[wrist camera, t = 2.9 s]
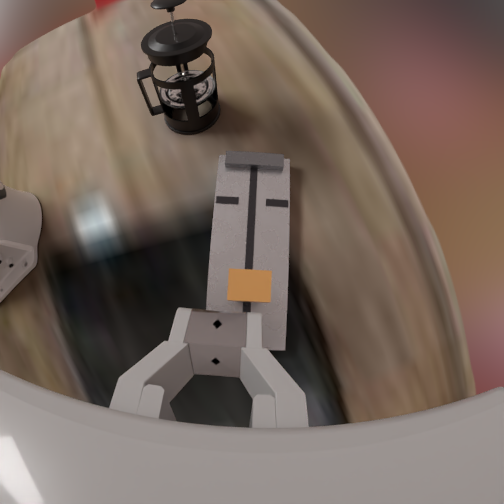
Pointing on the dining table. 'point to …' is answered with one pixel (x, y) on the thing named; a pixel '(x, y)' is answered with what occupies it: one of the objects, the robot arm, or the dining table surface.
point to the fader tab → (249, 285)
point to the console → (252, 235)
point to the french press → (181, 71)
